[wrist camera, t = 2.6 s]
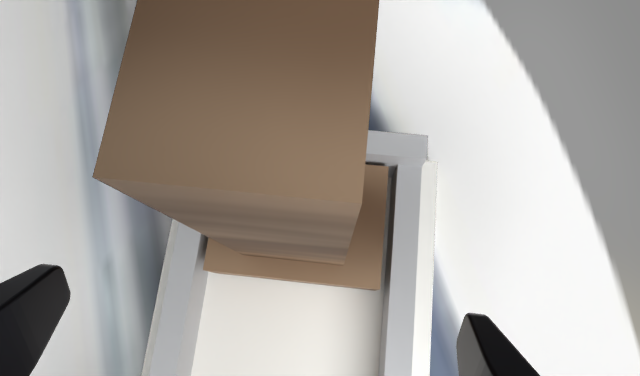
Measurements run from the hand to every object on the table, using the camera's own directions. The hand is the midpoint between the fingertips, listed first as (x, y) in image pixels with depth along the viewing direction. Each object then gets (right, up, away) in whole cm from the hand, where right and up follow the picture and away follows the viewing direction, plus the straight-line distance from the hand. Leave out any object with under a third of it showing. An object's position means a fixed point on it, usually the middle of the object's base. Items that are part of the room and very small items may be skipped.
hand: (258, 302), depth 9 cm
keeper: (+1, +1, +10) cm, 10 cm away
